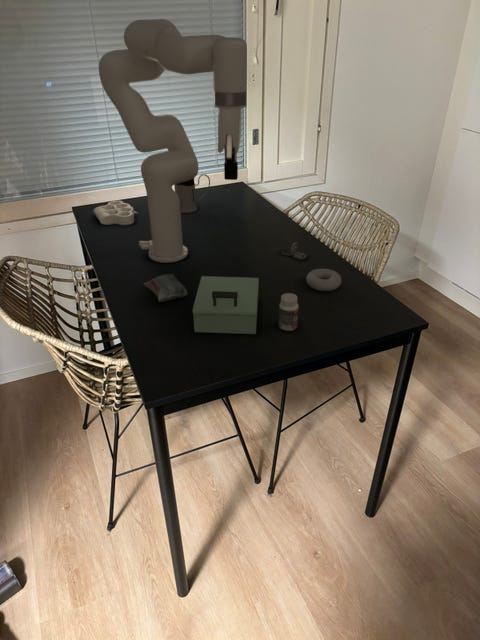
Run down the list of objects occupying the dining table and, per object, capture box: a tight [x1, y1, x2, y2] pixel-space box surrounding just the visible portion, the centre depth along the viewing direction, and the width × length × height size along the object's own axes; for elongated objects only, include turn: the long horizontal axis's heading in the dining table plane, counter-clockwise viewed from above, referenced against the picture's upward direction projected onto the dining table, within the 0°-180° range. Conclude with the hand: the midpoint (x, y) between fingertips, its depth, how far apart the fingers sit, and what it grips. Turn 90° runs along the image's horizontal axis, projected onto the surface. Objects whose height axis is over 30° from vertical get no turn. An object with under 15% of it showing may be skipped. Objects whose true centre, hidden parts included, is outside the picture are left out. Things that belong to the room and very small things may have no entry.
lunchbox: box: [192, 281, 260, 335], centre depth 127 cm, size 16×15×6 cm
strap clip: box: [280, 242, 308, 261], centre depth 157 cm, size 8×3×4 cm, turn 51°
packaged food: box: [143, 273, 189, 303], centre depth 136 cm, size 9×12×5 cm
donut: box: [305, 268, 342, 292], centre depth 141 cm, size 10×4×10 cm
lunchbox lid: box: [191, 275, 260, 315], centre depth 123 cm, size 17×15×5 cm
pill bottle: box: [278, 292, 300, 332], centre depth 122 cm, size 5×5×8 cm
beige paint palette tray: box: [92, 200, 139, 226], centre depth 185 cm, size 3×18×15 cm
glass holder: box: [173, 173, 211, 214], centre depth 189 cm, size 9×14×15 cm, turn 82°
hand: (231, 178), depth 124 cm, fingers closed
